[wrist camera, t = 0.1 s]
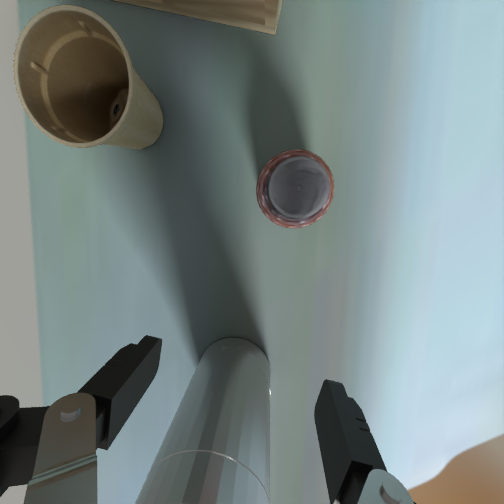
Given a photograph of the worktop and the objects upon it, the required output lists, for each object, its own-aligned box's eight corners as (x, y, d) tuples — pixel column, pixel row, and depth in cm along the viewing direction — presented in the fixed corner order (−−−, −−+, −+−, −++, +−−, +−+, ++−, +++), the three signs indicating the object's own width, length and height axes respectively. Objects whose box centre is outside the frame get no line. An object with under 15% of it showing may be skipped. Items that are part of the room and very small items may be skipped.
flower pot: (99, 164, 27) (23, 146, 19) (90, 72, 25) (1, 6, 17) (179, 165, 27) (137, 147, 18) (176, 70, 25) (127, 1, 16)
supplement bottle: (257, 169, 26) (248, 143, 15) (312, 162, 26) (345, 129, 14) (263, 223, 27) (258, 237, 16) (316, 218, 27) (348, 227, 16)
